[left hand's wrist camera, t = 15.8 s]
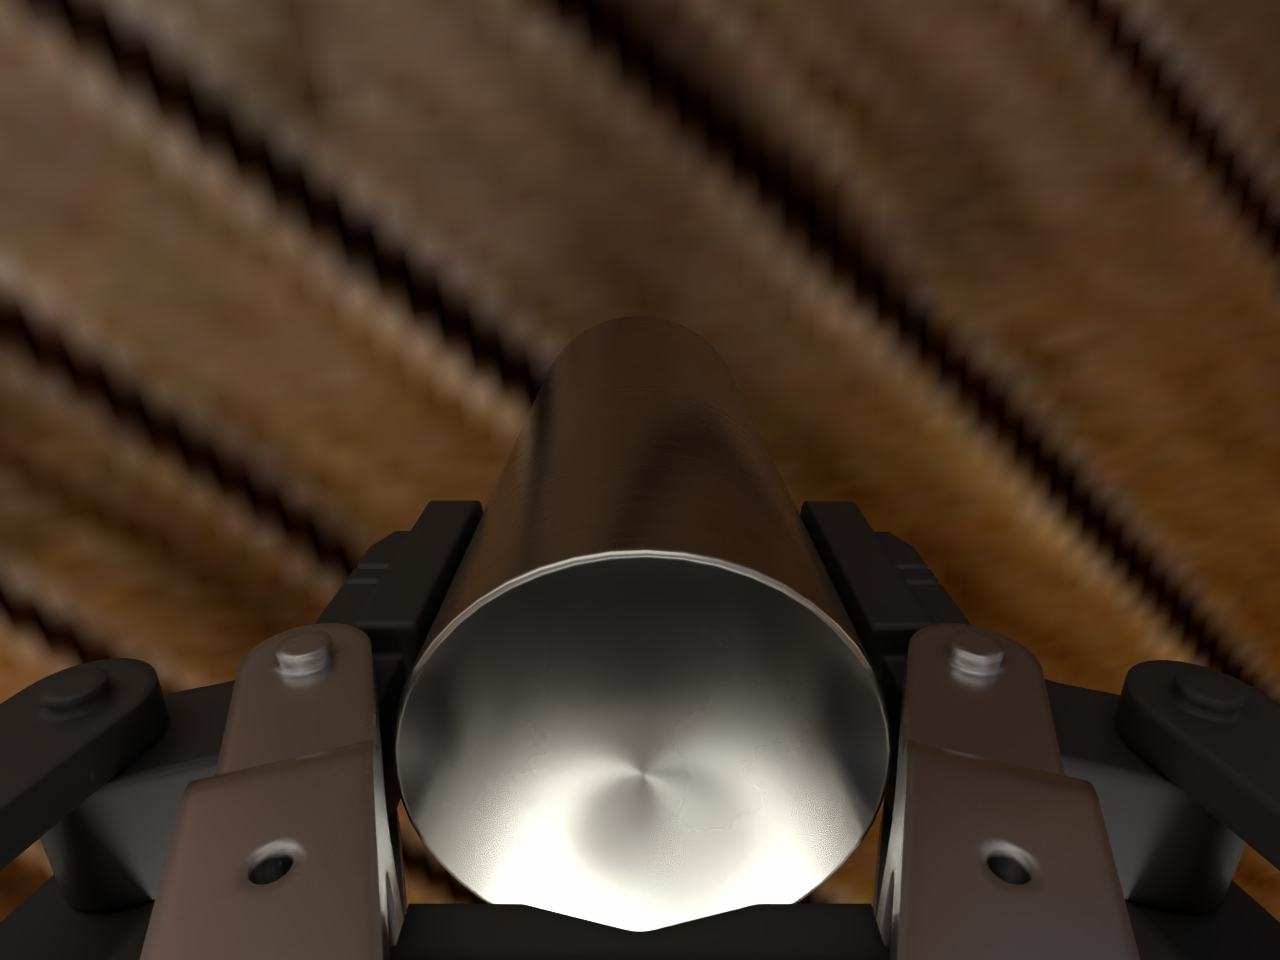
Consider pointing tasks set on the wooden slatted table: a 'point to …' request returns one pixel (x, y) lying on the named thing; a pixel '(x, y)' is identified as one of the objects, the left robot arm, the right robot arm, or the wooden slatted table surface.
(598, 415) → the can
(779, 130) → the wooden slatted table surface
